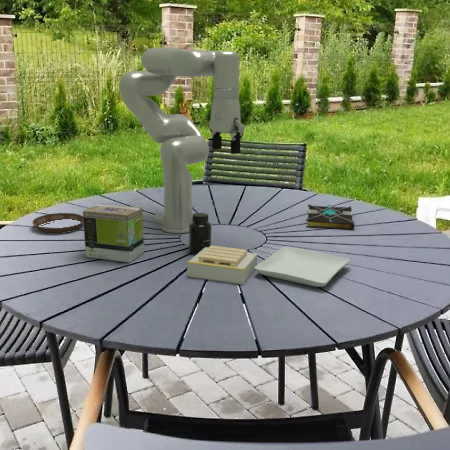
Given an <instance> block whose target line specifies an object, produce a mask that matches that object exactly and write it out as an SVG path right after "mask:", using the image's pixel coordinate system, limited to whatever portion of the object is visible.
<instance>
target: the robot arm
mask: <svg viewBox="0 0 450 450" xmlns="http://www.w3.org/2000/svg"><path fill="white" fill-rule="evenodd" d="M141 65H142V67H143V69H144V70H135V71H134V70H133V71H129V72H126V73H125V74H123V75H122V76H121V78H120V80H119V94H120V97H121V99H122V102H123V103H124V105H125V107H127V109H128V110H129V111H130V112H131V113H132V114H133V115H134V116H135V117H136V119H137V120H138V121H139V122H140V125H142V127H143V129H144V130H145V131H146V133H147V134H148V136H149V137H150V138H151V139H152V140H153V141H154V142H155V143H157V144H161V146H160V151H159V154H160V160H161V164H162V171H163V199H164V201H163V202H164V206H163V207H164V213H163V214H159V213H155V215H154V221H156V222H161V224H160V229H161V231H163V232H165V233H169V234H170V233H171V234H184V233H185V234H186V233H189V226H190V224H191V223H192V222H193V221H192V219H193V180H192V179H193V178H192V175H191V173H190V171H189V169H188V167H187V166H188V165H193V164H200V163H203V162H204V161H206V159H208V157H209V154H210V146H209V145H208V142H207V140H206V138H205V136H203V134H202V133H201V132H200V130H199V129H198V128H197V127H196V125H195V124H194V122H193V121H192V120H191V119H190V118H189V117H188V116H187V115H185V114H181V113H176V114H174V113H173V114H167V113H165V112H164V111H163V110H162V109H161V107H160V106H159V105H158V104H157V102H155V101H154V100H153V99H150V98H149V97H147V96H159V95H163V94H164V93H166V92H167V91H168V90H169V89H170V87H171V86H172V85H173V82H175V80H176V79H177V77H178V76H179V77H190V78H192V77H194V78H195V77H196V78H197V77H213V98H212V102H211V110H210V120H208V124H209V125H208V126H209V130H210V132H211V134H210V135H211V138H212V141H211V142H212V143H211V145H212V147H211V148H212V150H221V149H222V147H223V143H222V141H223V140H222V139H223V136H222V134H227V135H228V134H229V135H230V138H231V140H230V154H232V155H235V154H240V153H241V141H242V138H243V136H244V133H245V130H246V127H245V125H244V124H243V123H242V122H241V106H240V99H239V98H240V93H239V92H240V88H239V87H240V85H239V84H240V55H239V53H238V52H237V51H232V50H230V51H222V50H221V51H219V50H184V49H182V48H179V47H151V48H148V49H147V50H145V51H144V52H143V54H142V55H141Z"/></svg>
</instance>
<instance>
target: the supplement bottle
mask: <svg viewBox="0 0 450 450" xmlns="http://www.w3.org/2000/svg"><path fill="white" fill-rule="evenodd" d="M188 233H189V234H188V251H189V253H190V254H192V255H195V256H196V255H197V254H198V253H199V252H200V251H202V250H203V249H204V248H205V247H208V248H209V247H210V246H211V245H212V224H210V222H209V214H208V213H205V212H198V213H197V212H196V213H192V223H191V224H190V226H189V232H188Z"/></svg>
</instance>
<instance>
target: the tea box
mask: <svg viewBox="0 0 450 450" xmlns="http://www.w3.org/2000/svg"><path fill="white" fill-rule="evenodd" d="M143 214H144V213H143V207H141V206H140V207H139V206H128V205H118V204H107V203H98V204H96V205H93V206H91V207H89V208H87V209H84V210H83V211H82V216H83V222H84V223H83V233H84V248H85V250H84V251H85V257H86V258H93V259H100V260H109V261H116V262H121V263H129V264H130V263H131V262H133V261H135V260H137V258H139V257H141V256H142V255H143V254H144V252H145V245H144V242H145V241H144V217H143Z"/></svg>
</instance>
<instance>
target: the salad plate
mask: <svg viewBox="0 0 450 450" xmlns="http://www.w3.org/2000/svg"><path fill="white" fill-rule="evenodd" d="M349 263H350V258H347V257H343V256H338V255H334V254H328V253H323V252H319V251H314V250H309V249H303V248H299V247H293V246H287V245H285V246H282V247H281V248H280V249H278V250H277V251H275V252H274V253H272V254H271V255H270V256H268V257H267V258H265V259H264V260H262V261H261V262H260V263H257V266H255V267H254V269H255V270H254V271H256V272H257V273H259V274H260V275H264V276H266V277H270V278H274V279H279V280H284V281H288V282H292V283H297V284H301V285H306V286H311V287H317V288H319V287H320V288H321V287H325V286H326V285H327V284H328V283H329V282H330V281H331V280H332V278H334V277H335V275H336V274H337V273H338V272H339V271H341V270H342V269H343V268H345V267H346V266H347V265H348V264H349Z"/></svg>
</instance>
